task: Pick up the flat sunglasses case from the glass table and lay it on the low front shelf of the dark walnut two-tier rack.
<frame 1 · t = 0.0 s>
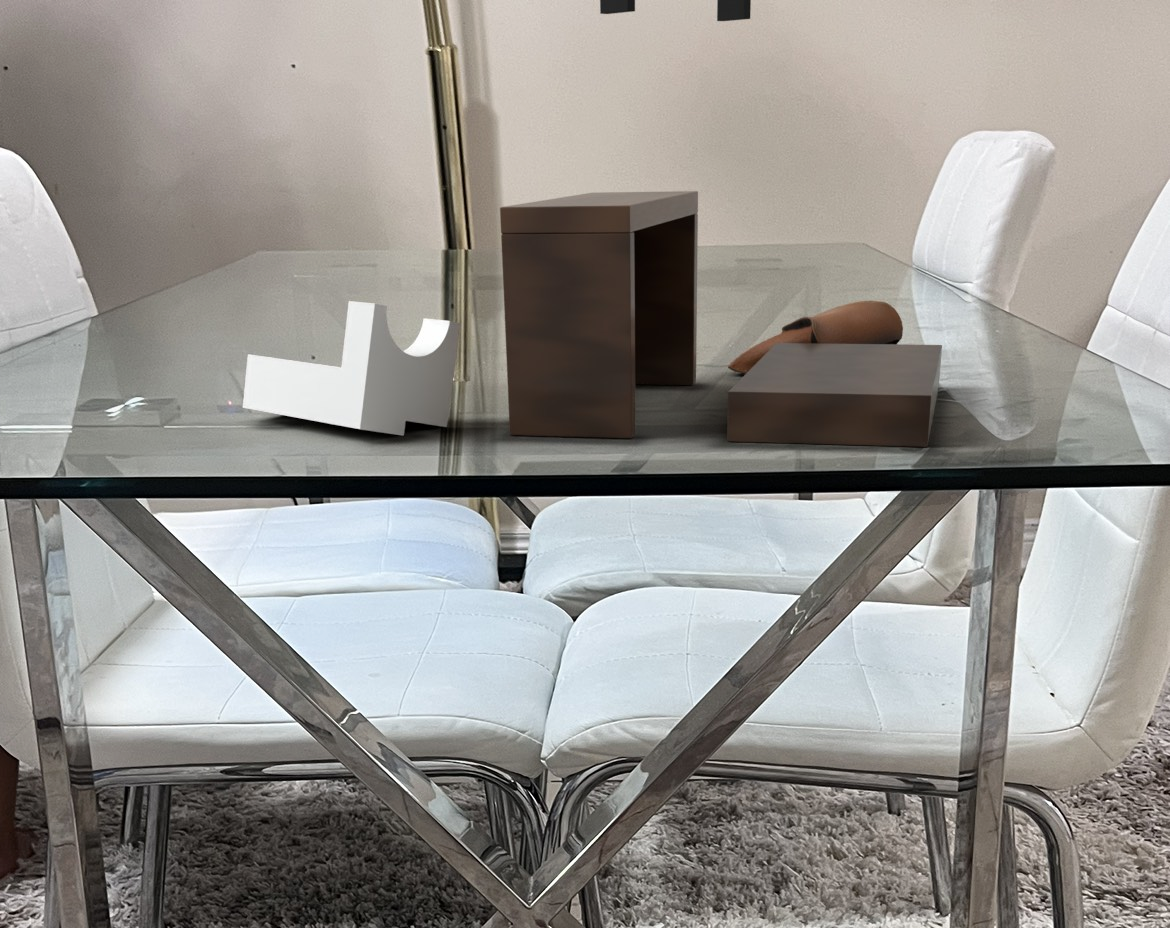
hand: (678, 17, 105), 25 cm above the table, tool pointing down, fingers open, 13 cm apart
rack: (782, 410, 95), on the table
sunglasses case: (817, 365, 114), on the table
bracket: (354, 425, 95), on the table
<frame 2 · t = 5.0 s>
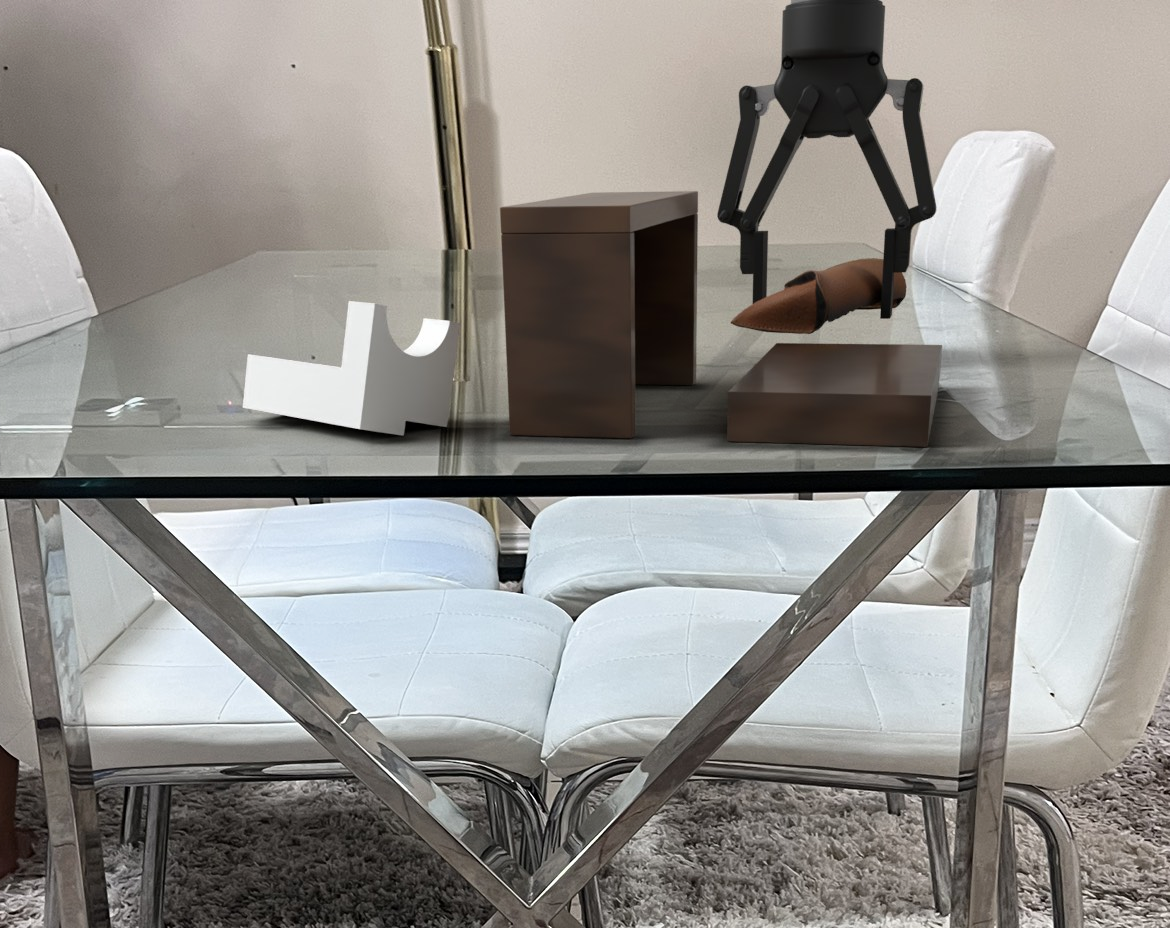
hand: (822, 317, 113), 4 cm above the table, tool pointing down, fingers closed on sunglasses case, 9 cm apart
sunglasses case: (820, 323, 113), point 3 cm above the table, touching gripper
everything else where it was.
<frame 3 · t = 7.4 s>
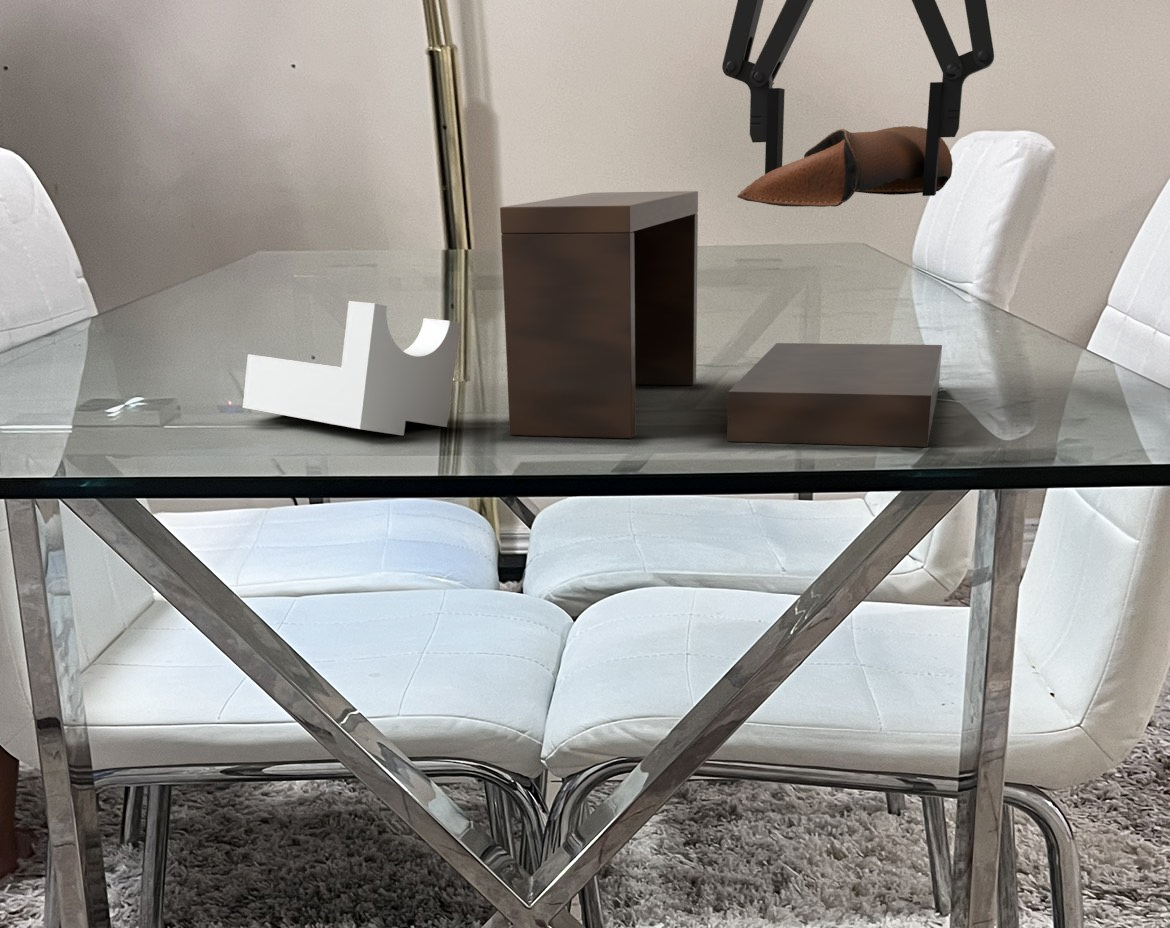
hand: (850, 196, 92), 13 cm above the table, tool pointing down, fingers closed on sunglasses case, 9 cm apart
sunglasses case: (848, 203, 92), point 13 cm above the table, touching gripper
everything else where it was.
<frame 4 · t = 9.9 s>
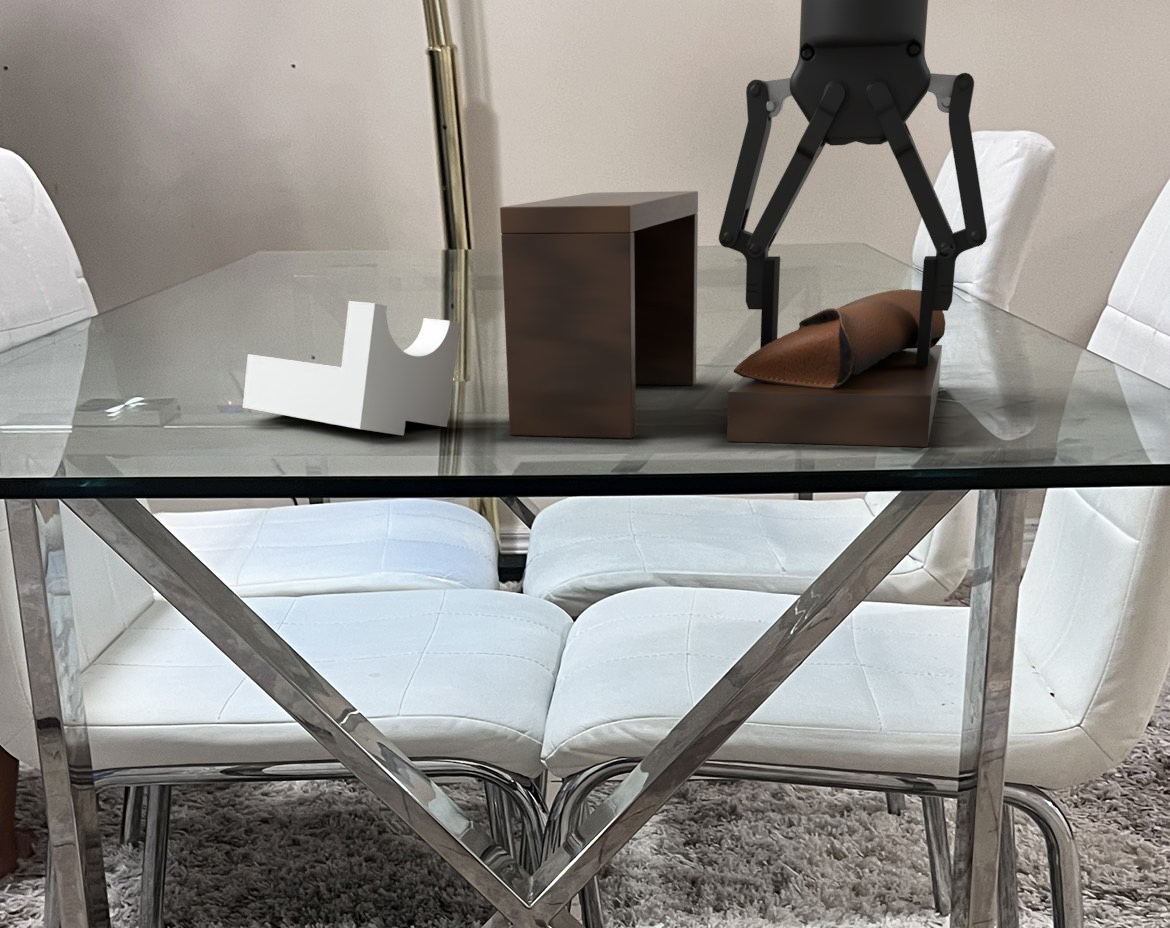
hand: (844, 362, 93), 3 cm above the table, tool pointing down, fingers closed on sunglasses case, 9 cm apart
sunglasses case: (842, 369, 93), point 3 cm above the table, touching gripper, rack
everything else where it was.
when the fingers open (3 cm above the table, at t = 10.3 s): sunglasses case stays where it is, resting on rack.
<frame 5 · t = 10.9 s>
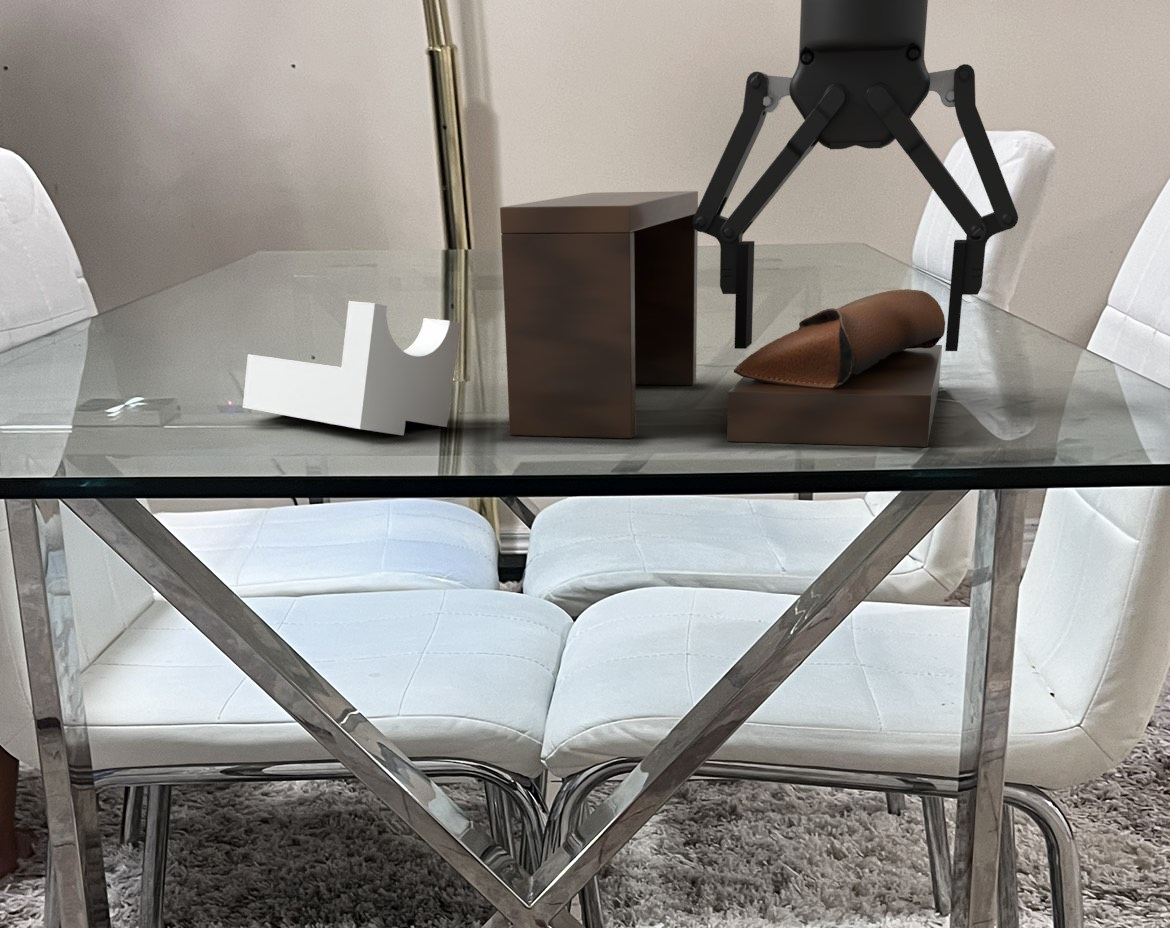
hand: (845, 347, 92), 4 cm above the table, tool pointing down, fingers open, 13 cm apart
sunglasses case: (842, 369, 93), point 3 cm above the table, touching rack
everything else where it was.
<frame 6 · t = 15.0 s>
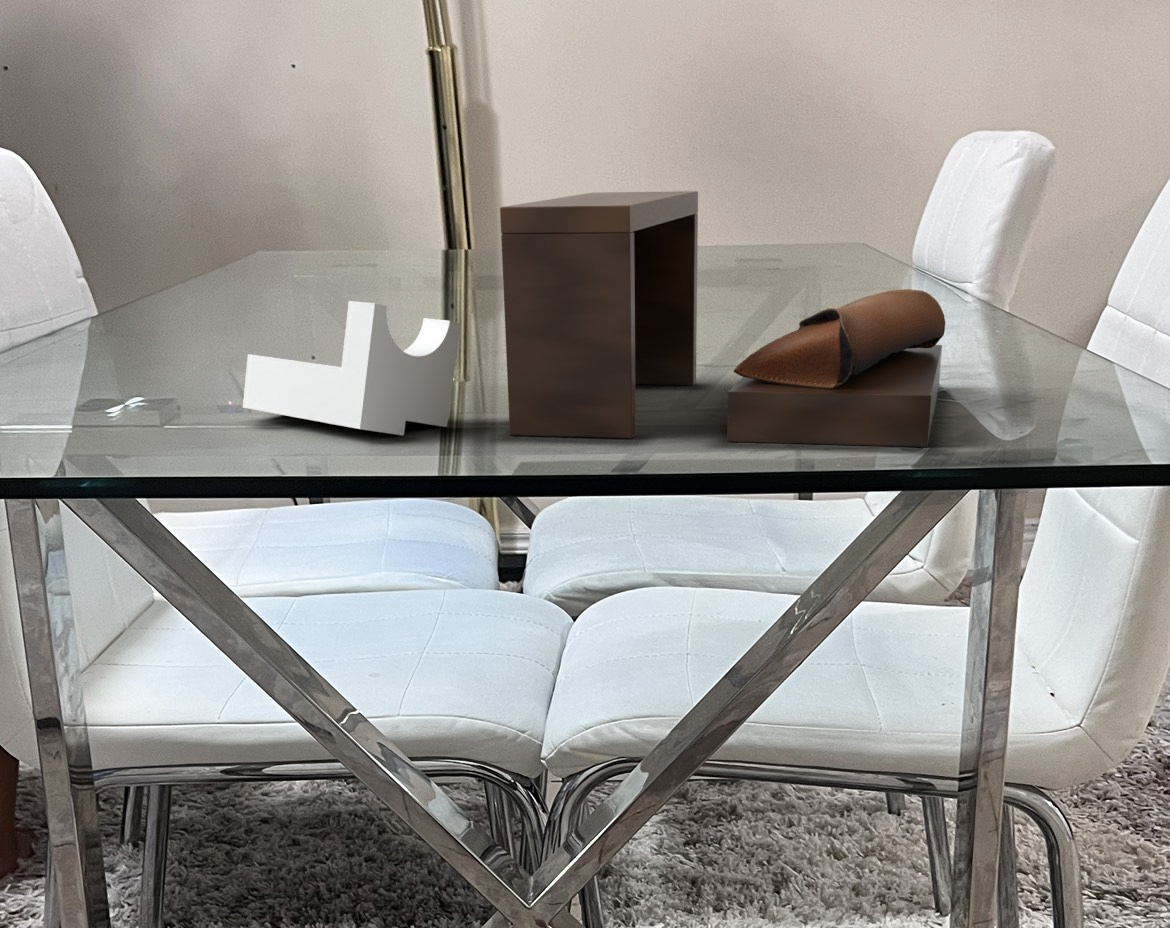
nothing on the table moved.
at the end: sunglasses case inside the target area on the rack (0.1 cm from its centre), point 2.8 cm above the rack's base; sunglasses case tilted 0°; the gripper is holding nothing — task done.
